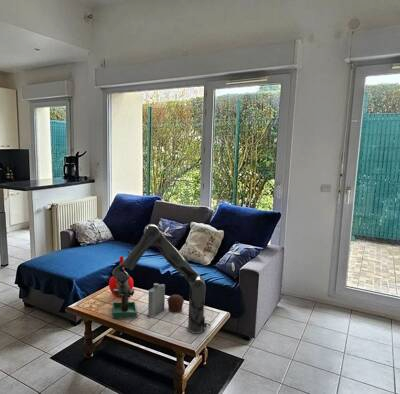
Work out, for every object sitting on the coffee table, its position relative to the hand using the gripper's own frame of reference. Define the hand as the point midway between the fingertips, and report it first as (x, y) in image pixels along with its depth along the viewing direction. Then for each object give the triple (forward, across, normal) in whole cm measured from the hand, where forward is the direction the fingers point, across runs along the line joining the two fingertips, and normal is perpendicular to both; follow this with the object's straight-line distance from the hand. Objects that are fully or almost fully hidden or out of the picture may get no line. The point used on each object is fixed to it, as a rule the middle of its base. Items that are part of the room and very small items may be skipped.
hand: (125, 296), depth 229 cm
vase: (+25, +6, -10) cm, 27 cm away
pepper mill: (+5, 0, +7) cm, 9 cm away
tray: (+6, 0, +9) cm, 11 cm away
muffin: (+11, -34, +4) cm, 36 cm away
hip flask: (+8, -21, +8) cm, 24 cm away
